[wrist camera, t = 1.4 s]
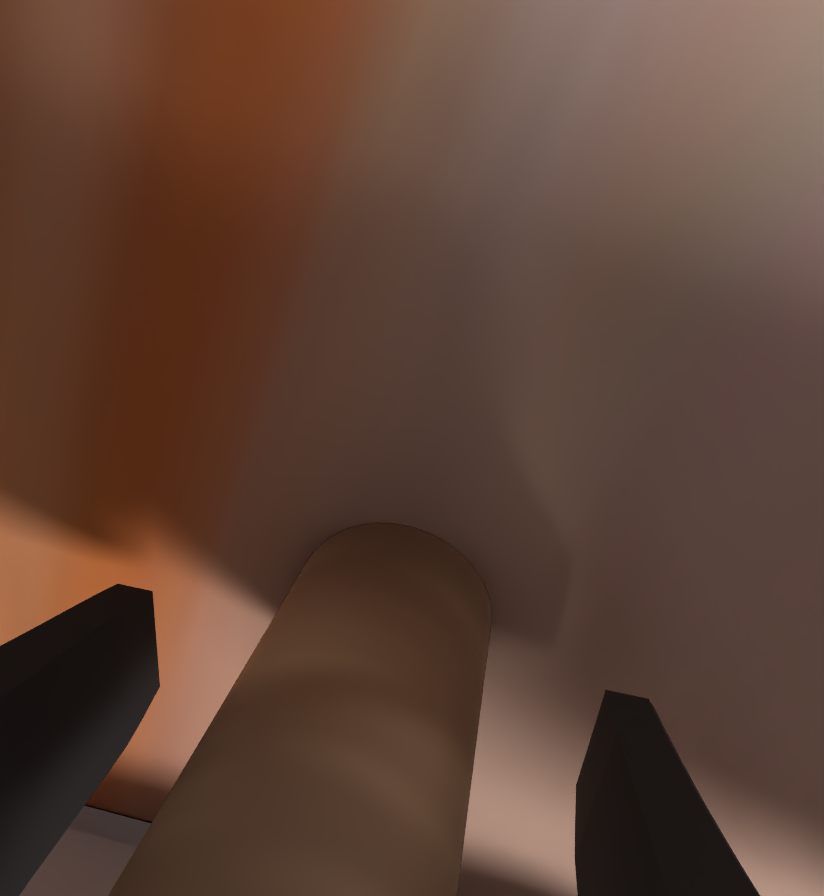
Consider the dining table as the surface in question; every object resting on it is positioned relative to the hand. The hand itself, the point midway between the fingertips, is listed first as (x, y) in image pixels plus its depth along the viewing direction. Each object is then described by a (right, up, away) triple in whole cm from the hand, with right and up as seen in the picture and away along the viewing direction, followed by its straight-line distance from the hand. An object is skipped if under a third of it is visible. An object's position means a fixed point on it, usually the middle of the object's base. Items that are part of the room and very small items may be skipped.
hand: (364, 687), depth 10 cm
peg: (0, +1, +2) cm, 2 cm away
